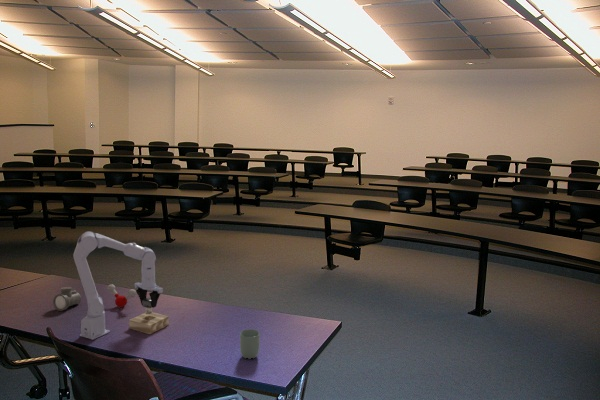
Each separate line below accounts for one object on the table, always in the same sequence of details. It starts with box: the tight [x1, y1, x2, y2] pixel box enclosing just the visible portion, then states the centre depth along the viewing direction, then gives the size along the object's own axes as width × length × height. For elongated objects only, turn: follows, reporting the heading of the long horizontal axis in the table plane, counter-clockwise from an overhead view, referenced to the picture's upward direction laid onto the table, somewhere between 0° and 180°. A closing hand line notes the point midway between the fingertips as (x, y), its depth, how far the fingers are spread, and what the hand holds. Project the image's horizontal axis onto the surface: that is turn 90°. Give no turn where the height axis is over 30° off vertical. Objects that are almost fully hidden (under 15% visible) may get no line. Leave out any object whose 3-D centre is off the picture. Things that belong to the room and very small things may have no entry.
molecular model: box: [107, 284, 137, 308], centre depth 258 cm, size 18×6×10 cm, turn 62°
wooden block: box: [128, 311, 170, 335], centre depth 236 cm, size 12×12×4 cm
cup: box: [239, 328, 261, 360], centre depth 210 cm, size 8×8×10 cm
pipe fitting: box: [52, 286, 82, 312], centre depth 256 cm, size 12×8×10 cm
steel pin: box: [141, 297, 153, 314], centre depth 235 cm, size 5×5×6 cm
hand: (148, 305), depth 235 cm, fingers closed on steel pin, 5 cm apart
